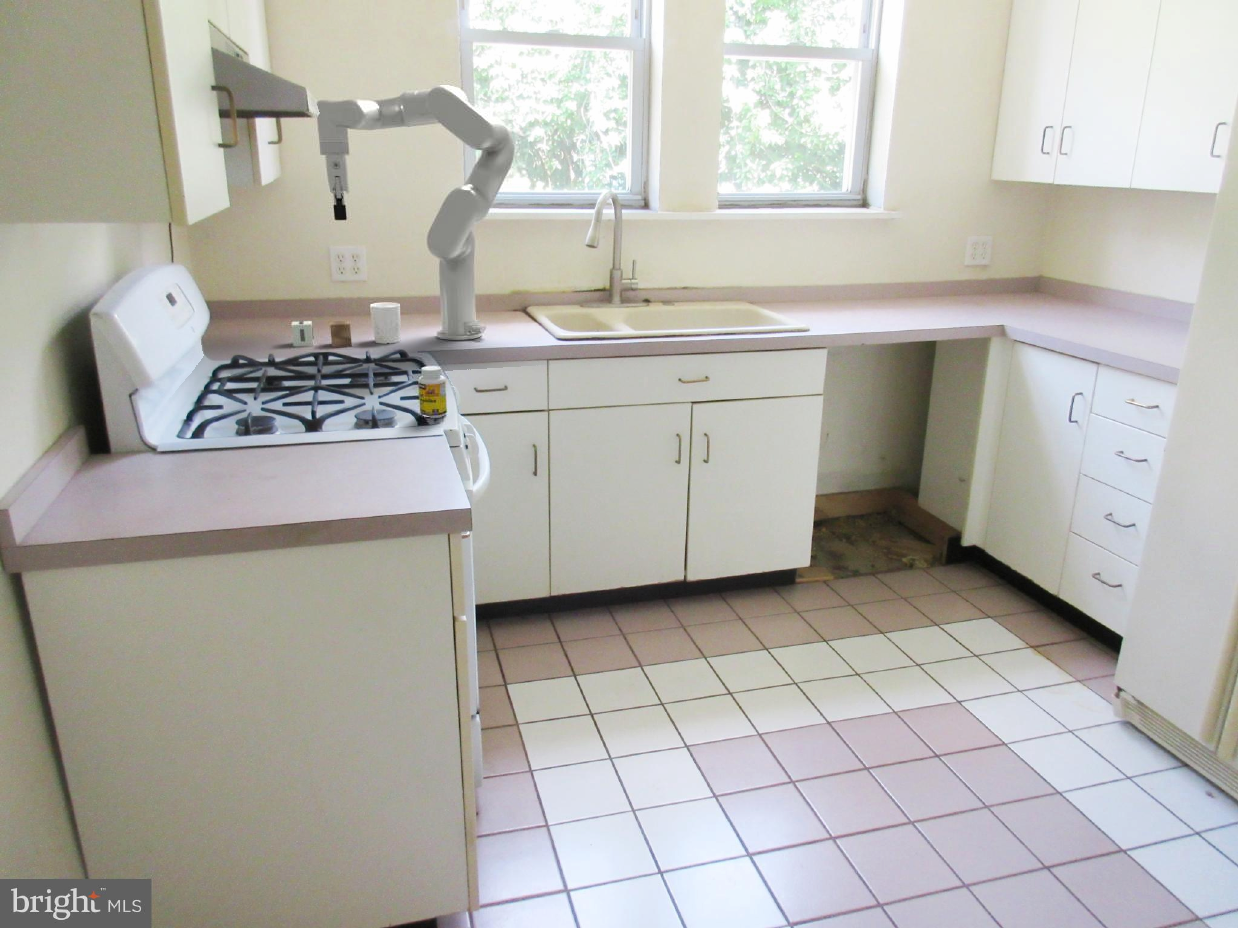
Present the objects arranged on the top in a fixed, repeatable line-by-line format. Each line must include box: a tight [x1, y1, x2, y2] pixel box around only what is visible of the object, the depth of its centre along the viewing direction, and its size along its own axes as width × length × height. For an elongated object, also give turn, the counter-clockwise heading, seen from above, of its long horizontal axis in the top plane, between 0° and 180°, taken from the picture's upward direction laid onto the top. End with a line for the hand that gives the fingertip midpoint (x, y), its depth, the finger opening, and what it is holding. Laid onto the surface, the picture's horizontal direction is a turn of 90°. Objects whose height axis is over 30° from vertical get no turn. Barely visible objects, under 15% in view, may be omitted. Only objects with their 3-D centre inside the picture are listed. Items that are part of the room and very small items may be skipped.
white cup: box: [369, 301, 401, 345], centre depth 245 cm, size 8×8×10 cm
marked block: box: [290, 320, 314, 348], centre depth 241 cm, size 5×5×6 cm
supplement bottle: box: [417, 365, 448, 419], centre depth 179 cm, size 5×5×10 cm
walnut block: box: [329, 320, 353, 348], centre depth 241 cm, size 5×5×6 cm
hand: (340, 220), depth 248 cm, fingers closed
